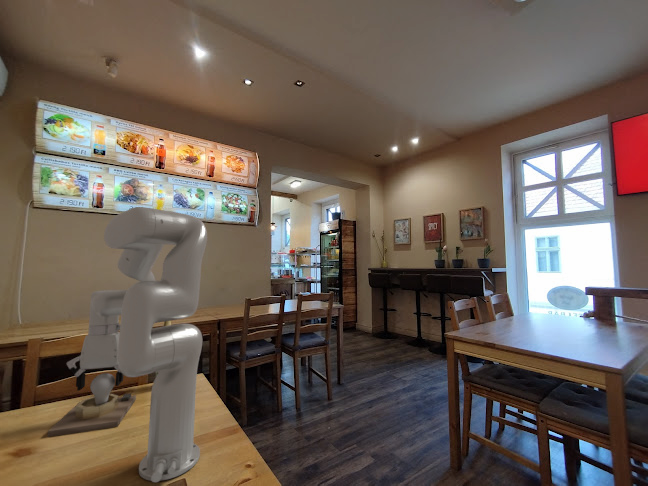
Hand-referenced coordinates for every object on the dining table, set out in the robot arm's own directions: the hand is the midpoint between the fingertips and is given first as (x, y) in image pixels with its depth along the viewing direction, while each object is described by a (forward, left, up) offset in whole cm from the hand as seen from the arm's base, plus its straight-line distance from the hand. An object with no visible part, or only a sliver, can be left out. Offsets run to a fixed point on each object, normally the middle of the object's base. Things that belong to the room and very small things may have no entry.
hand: (100, 386), depth 89 cm
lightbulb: (0, -1, -8) cm, 8 cm away
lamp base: (0, 0, -9) cm, 9 cm away
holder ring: (0, 0, -7) cm, 7 cm away
